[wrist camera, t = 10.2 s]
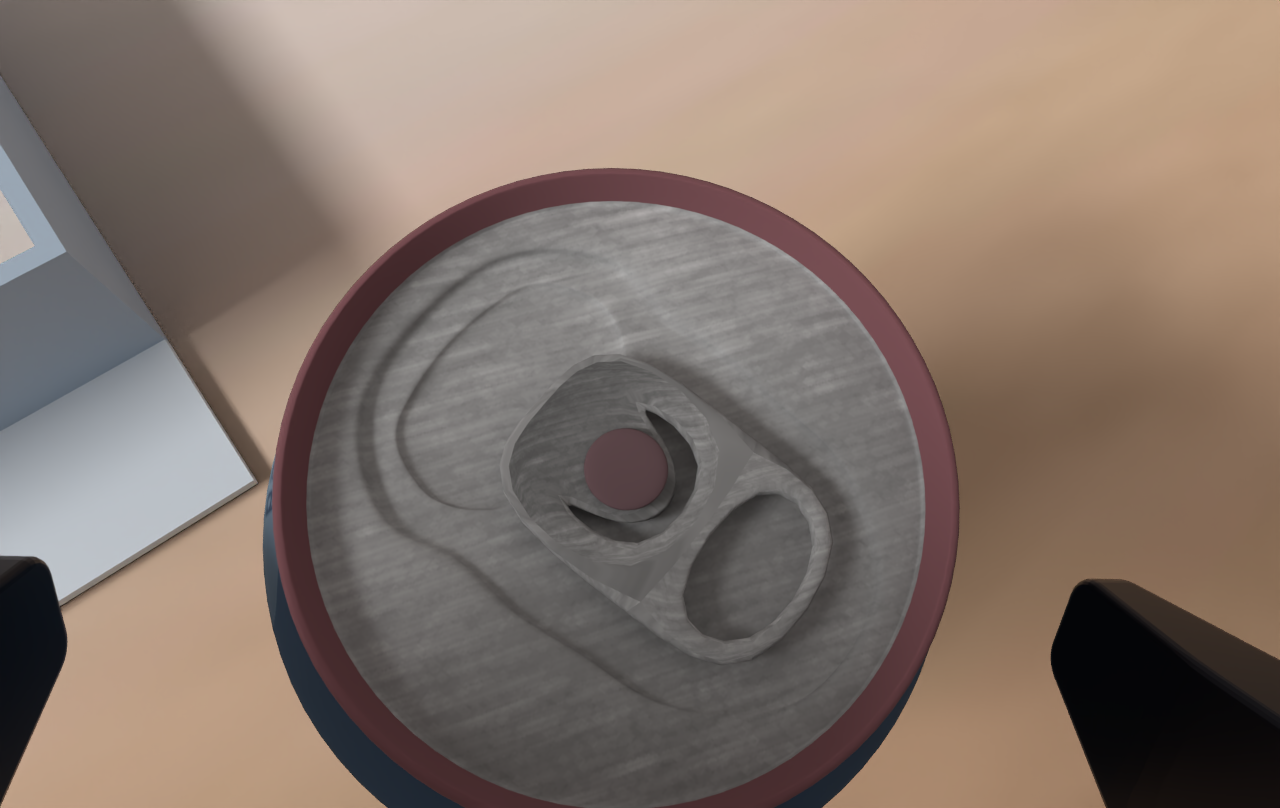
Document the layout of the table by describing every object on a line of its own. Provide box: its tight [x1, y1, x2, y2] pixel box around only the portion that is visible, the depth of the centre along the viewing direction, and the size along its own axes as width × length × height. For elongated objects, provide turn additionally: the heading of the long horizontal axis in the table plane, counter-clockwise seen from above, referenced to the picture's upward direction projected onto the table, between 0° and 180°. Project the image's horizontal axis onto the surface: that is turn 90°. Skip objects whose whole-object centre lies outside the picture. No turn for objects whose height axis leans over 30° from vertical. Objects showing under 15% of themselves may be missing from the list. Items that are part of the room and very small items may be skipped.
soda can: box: [263, 168, 960, 808], centre depth 13 cm, size 7×7×12 cm
